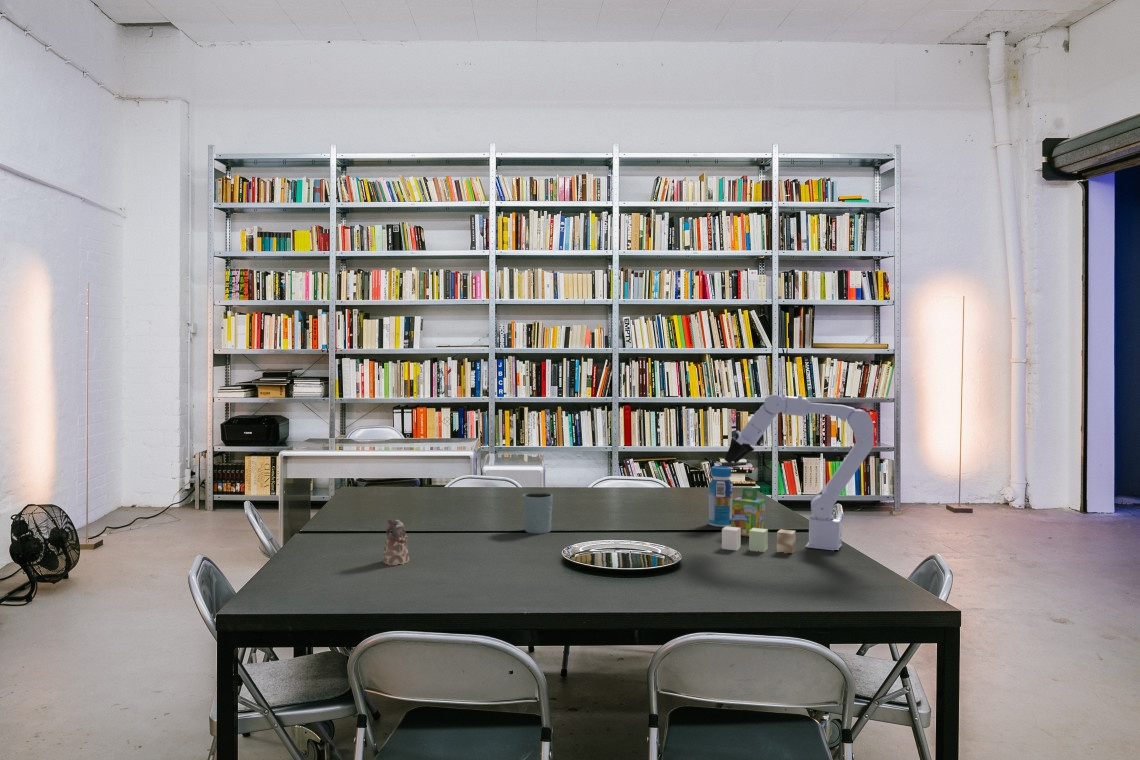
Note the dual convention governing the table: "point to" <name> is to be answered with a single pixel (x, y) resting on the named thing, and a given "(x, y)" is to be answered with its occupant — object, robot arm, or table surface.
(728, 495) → the beverage bottle
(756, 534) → the sage green block
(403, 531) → the figurine
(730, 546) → the off-white block
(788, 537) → the birch block
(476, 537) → the table surface
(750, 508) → the chalk box
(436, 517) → the table surface
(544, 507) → the blue-gray cup
